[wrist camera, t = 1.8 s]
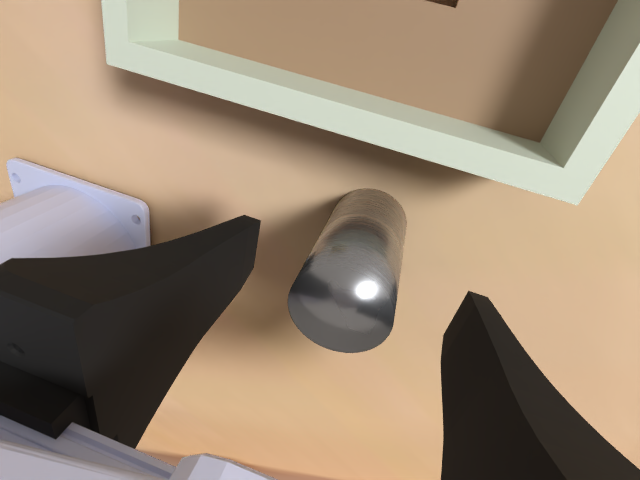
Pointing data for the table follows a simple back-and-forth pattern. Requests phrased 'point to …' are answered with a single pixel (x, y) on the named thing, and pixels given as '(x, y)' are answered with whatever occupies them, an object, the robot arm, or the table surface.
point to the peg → (352, 274)
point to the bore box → (412, 74)
